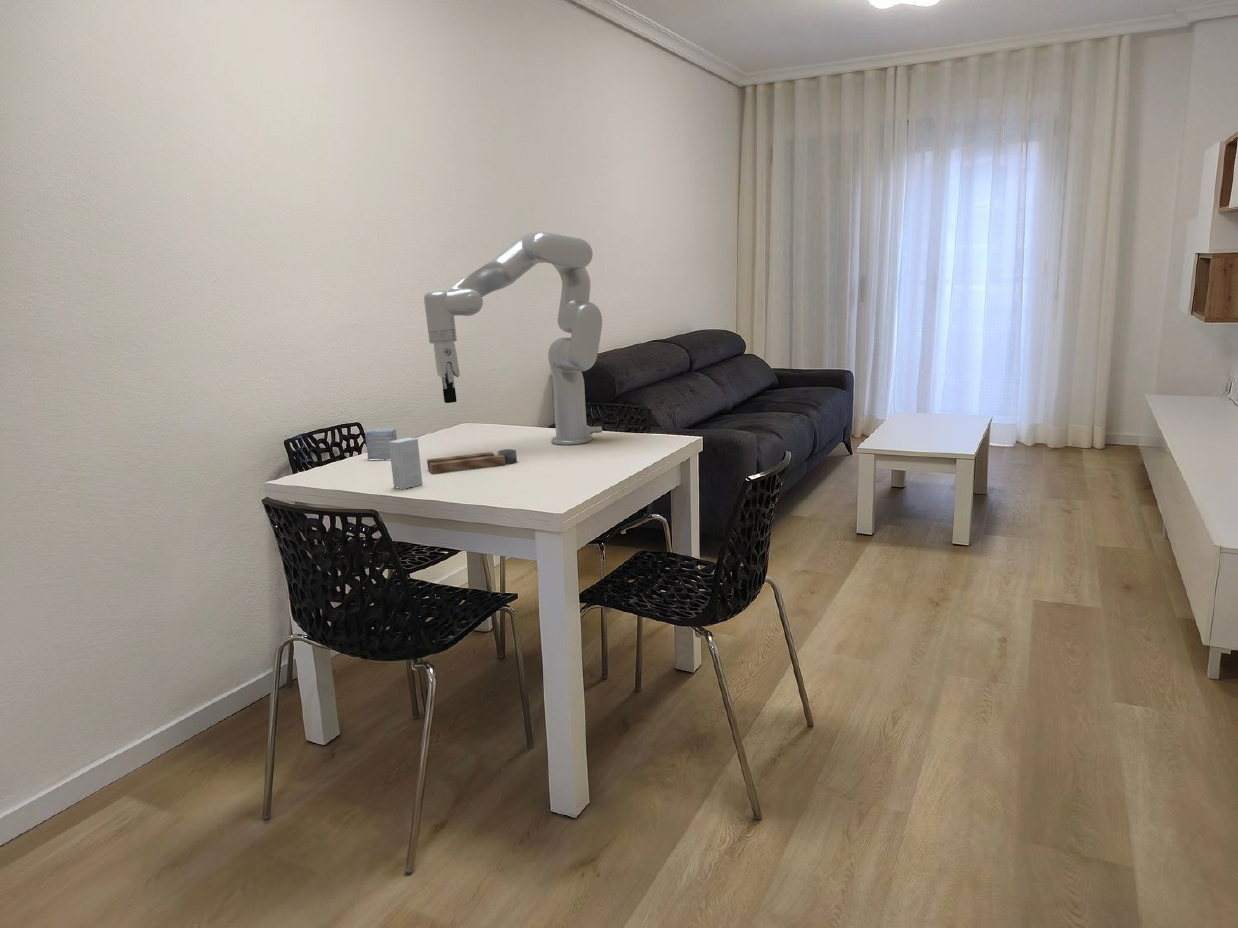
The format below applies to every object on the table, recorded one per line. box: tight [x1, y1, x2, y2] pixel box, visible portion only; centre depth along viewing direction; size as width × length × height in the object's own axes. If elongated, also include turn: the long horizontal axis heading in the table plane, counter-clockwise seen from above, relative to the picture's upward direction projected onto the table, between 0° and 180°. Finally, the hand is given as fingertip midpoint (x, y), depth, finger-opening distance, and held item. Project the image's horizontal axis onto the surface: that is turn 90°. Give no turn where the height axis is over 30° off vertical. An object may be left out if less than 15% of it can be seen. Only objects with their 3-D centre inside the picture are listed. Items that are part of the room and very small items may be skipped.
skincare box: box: [389, 437, 423, 490], centre depth 220 cm, size 6×4×12 cm
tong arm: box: [426, 451, 495, 471], centre depth 242 cm, size 18×3×2 cm, turn 111°
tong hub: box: [429, 449, 518, 475], centre depth 241 cm, size 24×6×3 cm, turn 111°
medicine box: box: [364, 428, 398, 460], centre depth 258 cm, size 8×4×9 cm, turn 84°
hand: (450, 402), depth 248 cm, fingers closed
